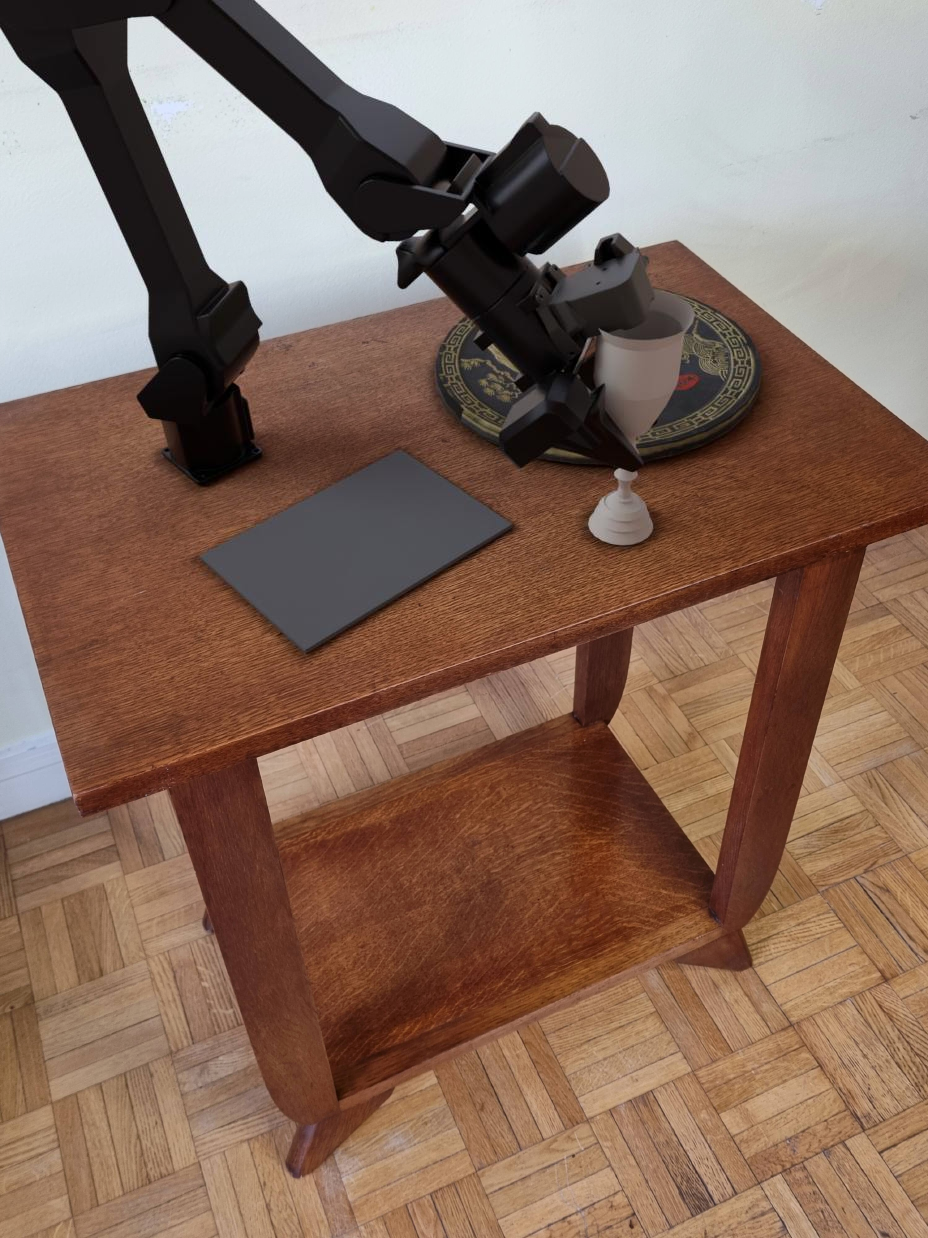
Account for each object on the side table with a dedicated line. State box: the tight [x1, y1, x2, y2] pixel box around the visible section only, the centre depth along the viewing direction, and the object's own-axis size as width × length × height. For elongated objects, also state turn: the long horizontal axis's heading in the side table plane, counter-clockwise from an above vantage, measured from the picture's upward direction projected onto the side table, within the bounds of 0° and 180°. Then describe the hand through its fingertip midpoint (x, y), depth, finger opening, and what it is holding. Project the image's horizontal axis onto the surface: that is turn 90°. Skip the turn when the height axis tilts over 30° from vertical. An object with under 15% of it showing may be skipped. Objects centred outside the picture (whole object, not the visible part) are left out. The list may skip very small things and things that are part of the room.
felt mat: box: [199, 448, 513, 654], centre depth 85 cm, size 20×14×1 cm
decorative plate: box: [434, 286, 763, 466], centre depth 101 cm, size 30×2×30 cm
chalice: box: [587, 290, 695, 546], centre depth 79 cm, size 7×7×18 cm
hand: (646, 446), depth 80 cm, fingers closed on chalice, 5 cm apart
